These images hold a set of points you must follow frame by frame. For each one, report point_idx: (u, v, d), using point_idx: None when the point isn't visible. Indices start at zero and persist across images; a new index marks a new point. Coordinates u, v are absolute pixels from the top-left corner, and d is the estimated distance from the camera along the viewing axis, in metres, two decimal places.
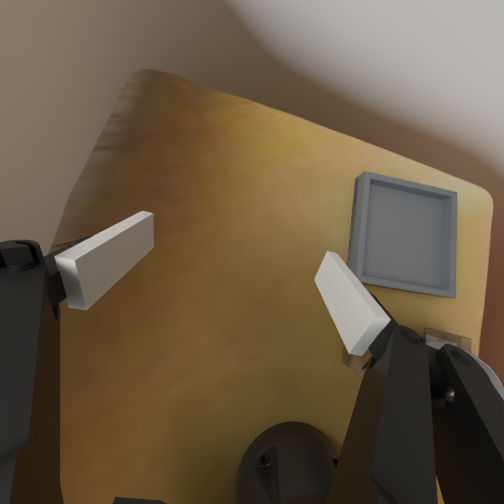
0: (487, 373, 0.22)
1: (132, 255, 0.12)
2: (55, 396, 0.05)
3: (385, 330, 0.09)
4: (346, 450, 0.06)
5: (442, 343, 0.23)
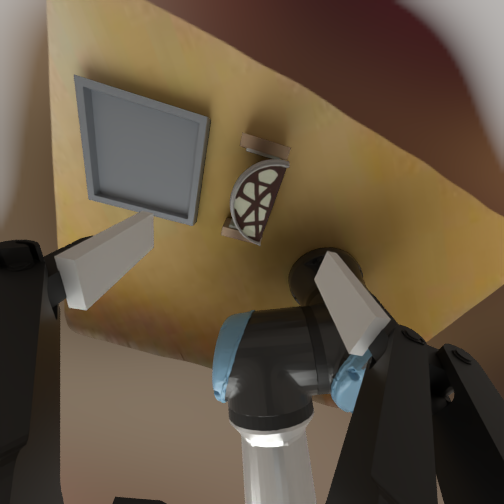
0: (255, 170, 0.24)
1: (132, 255, 0.12)
2: (55, 396, 0.05)
3: (385, 330, 0.09)
4: (346, 450, 0.06)
5: (230, 200, 0.27)
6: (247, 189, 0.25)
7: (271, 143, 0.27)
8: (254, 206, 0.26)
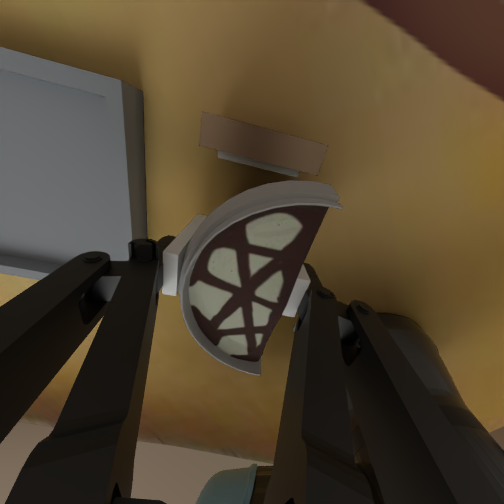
0: None
1: None
2: (145, 374, 0.06)
3: (307, 291, 0.10)
4: (284, 412, 0.06)
5: None
6: (218, 264, 0.09)
7: (278, 136, 0.10)
8: (242, 300, 0.10)
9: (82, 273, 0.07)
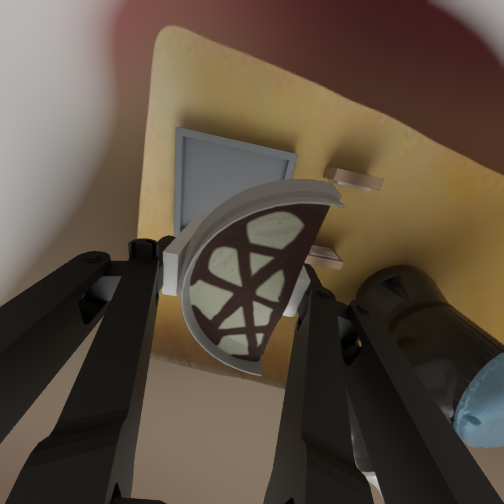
0: None
1: None
2: (145, 374, 0.06)
3: (307, 291, 0.10)
4: (284, 412, 0.06)
5: None
6: (218, 263, 0.09)
7: (365, 176, 0.27)
8: (243, 299, 0.10)
9: (82, 273, 0.07)
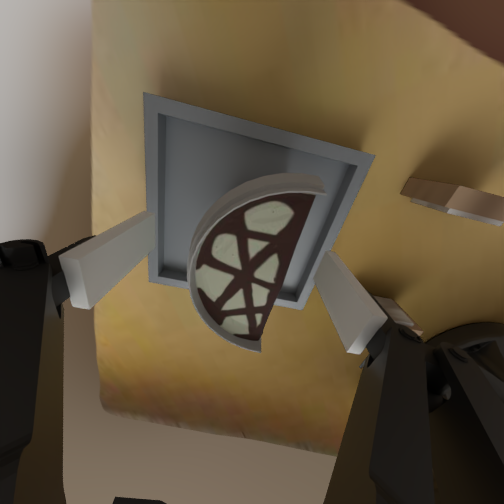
0: (236, 207, 0.09)
1: (134, 255, 0.12)
2: (58, 395, 0.05)
3: (382, 328, 0.09)
4: (344, 448, 0.06)
5: None
6: (220, 248, 0.11)
7: None
8: (242, 282, 0.12)
9: None
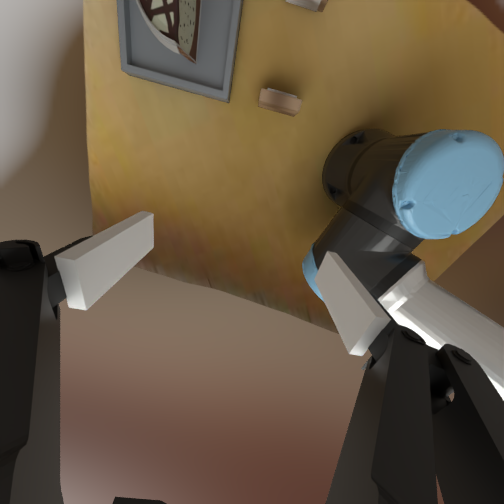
0: None
1: (132, 255, 0.12)
2: (55, 396, 0.05)
3: (385, 330, 0.09)
4: (346, 450, 0.06)
5: None
6: None
7: None
8: None
9: None
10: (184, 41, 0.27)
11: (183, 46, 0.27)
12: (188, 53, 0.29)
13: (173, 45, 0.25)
